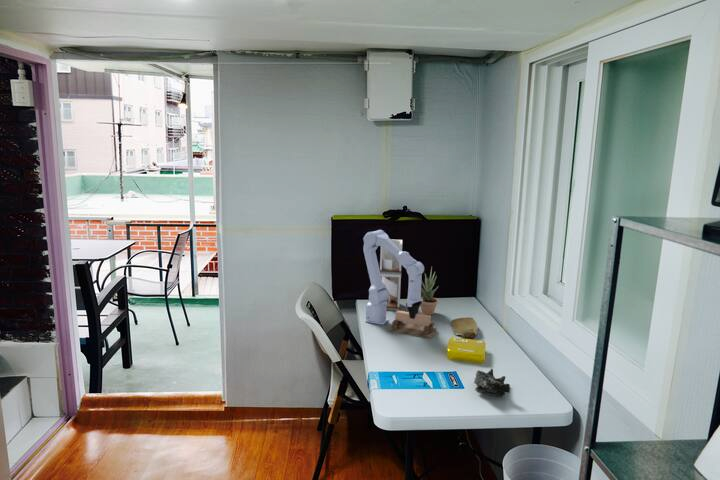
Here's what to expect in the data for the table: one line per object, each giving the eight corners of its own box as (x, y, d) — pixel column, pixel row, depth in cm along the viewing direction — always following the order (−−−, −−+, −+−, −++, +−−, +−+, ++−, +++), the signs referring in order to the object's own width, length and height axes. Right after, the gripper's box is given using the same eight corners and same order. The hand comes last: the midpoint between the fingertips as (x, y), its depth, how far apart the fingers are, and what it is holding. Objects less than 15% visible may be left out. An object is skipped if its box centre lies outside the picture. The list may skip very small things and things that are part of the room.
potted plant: (438, 316, 249) (441, 268, 244) (419, 316, 249) (422, 268, 244) (435, 309, 258) (438, 263, 254) (417, 309, 258) (419, 263, 254)
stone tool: (482, 341, 218) (473, 321, 242) (482, 332, 217) (472, 313, 242) (456, 343, 219) (449, 323, 243) (455, 334, 218) (448, 315, 242)
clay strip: (395, 320, 230) (395, 311, 229) (397, 318, 232) (397, 310, 232) (428, 325, 224) (429, 317, 223) (430, 324, 226) (430, 315, 225)
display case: (379, 302, 268) (382, 238, 261) (399, 303, 267) (402, 239, 260) (378, 309, 257) (380, 243, 250) (399, 310, 256) (402, 244, 249)
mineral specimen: (522, 388, 167) (506, 361, 168) (490, 408, 166) (474, 381, 167) (506, 381, 182) (492, 357, 183) (477, 400, 180) (463, 376, 181)
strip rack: (388, 330, 228) (388, 321, 228) (395, 323, 237) (396, 315, 237) (430, 338, 221) (431, 329, 220) (436, 330, 230) (437, 322, 229)
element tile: (446, 360, 200) (446, 349, 199) (449, 345, 214) (450, 335, 213) (484, 365, 196) (485, 354, 195) (485, 350, 210) (485, 339, 209)
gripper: (418, 294, 217) (416, 323, 220) (427, 286, 230) (426, 313, 233) (403, 292, 220) (401, 321, 222) (413, 283, 233) (411, 311, 235)
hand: (413, 317), depth 228 cm, fingers closed on clay strip, 2 cm apart
